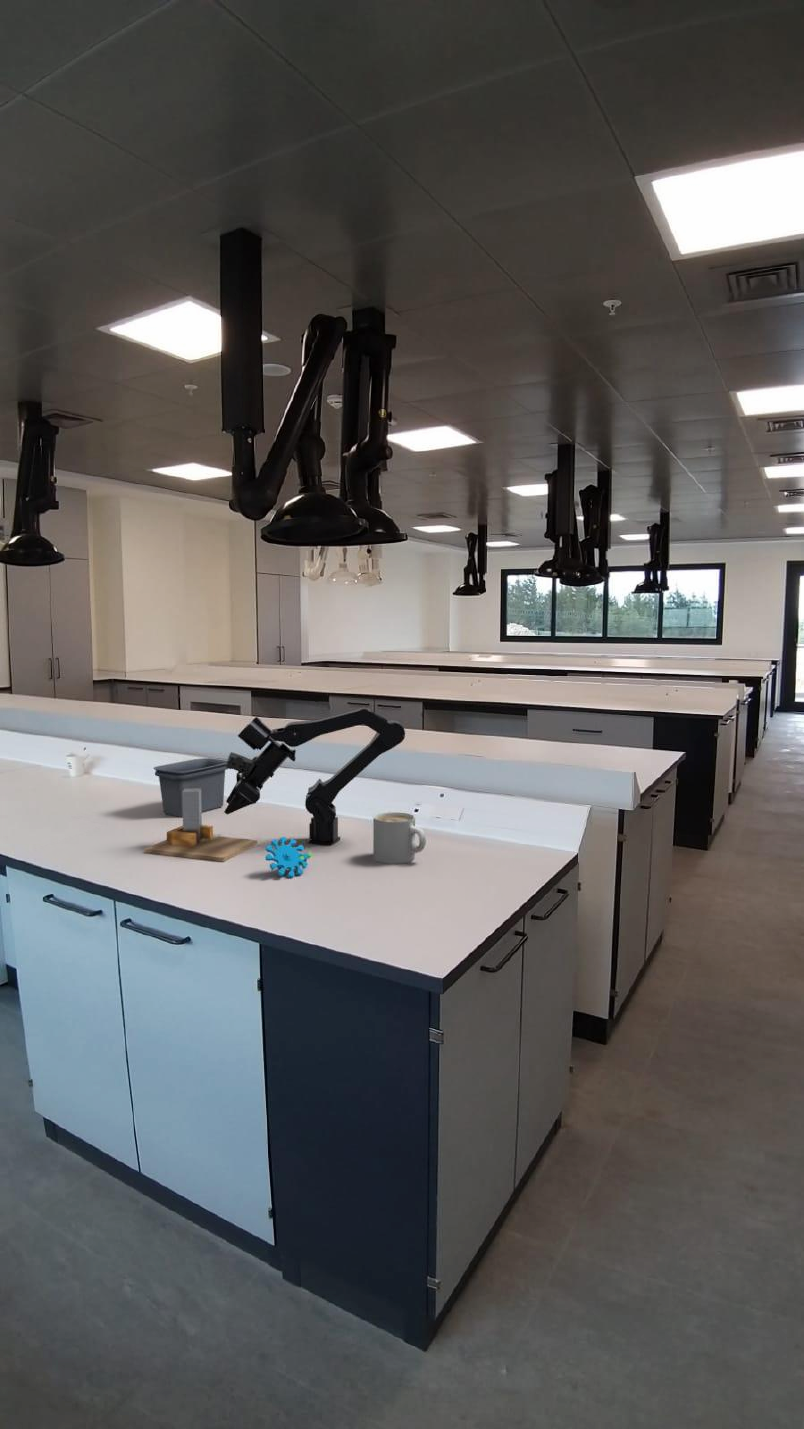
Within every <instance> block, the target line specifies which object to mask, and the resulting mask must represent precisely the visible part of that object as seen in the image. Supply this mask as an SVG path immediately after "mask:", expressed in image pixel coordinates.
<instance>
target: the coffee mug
mask: <svg viewBox="0 0 804 1429" xmlns="http://www.w3.org/2000/svg"><path fill="white" fill-rule="evenodd" d="M372 827H373V839H372V840H373V843H372V844H373V848H372V849H373V852H372V855H373V860H374V861H376V862H379V863H383V864H388V865H389V864H391V865H399V864H400V865H401V864H406V863H410V862H412V861H414V860H415V858H416V855H415V854H417V853H421V852H422V851H424V849H425V847H426V843H427V840H426V839H427V838H426V834H425V831H424V830H423V829H422V828H421V827H418V826H416V816H415V815H414V814H411V813H407V812H401V811H389V812H381V813H377V814H375V815H374V816H373V826H372ZM416 834H417V836H418V837H419V838H418V839H419V840H418V841H419V843H418V845H417V844H416Z"/></svg>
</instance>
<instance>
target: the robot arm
mask: <svg viewBox="0 0 804 1429" xmlns="http://www.w3.org/2000/svg"><path fill="white" fill-rule="evenodd" d="M361 725H365V726H366V727H368V728H369V729H371V730H372V731H374V732H375V734H374V736H373V737H372V738H371V740H370V742H369V743H367V745H366V746H364V747H363V748H362V749H361V750H360V751H359V752H357V754H356V755H355V756H353V757H352V758H351V759H350V760H349V761H348V762H347V763H346V764H345V765H343V766H342V767H341V768H340V769H339V770H338V771H337V772H336V773H335V774H334V775H332V776H331V777H330V778H329V779H327V780H325V781H322V779H321V778H318V780H317V781H316V782H315V783H314V784H313V785H311V786H310V787H308V789H307V793H306V795H305V802H304V806H305V809H306V810H307V812H308V813H309V814H311V815H312V817H310V823H309V826H308V829H309V832H308V833H309V836H308V837H309V838H308V839H309V840H307V842H308V843H309V844H316V845H325V846H332V845H334V844H335V843H336V842H339V841H340V840H341V836H339V817H337V807H336V805H334V804H333V802H334V800H335V799H336V797H337V796H338V794H339V793H340V792H341V791H342V789H344V788H345V787H347V785H348V784H350V783H351V781H353V780H354V779H355V778H356V777H357V776H358V775H359V774H360V773H362V772H363V771H364V770H365V769H366V768H367V767H368V766H369V765H371V763H373V762H374V761H375V760H376V759H377V758H378V757H379V756H380V755H382V754H384V753H386V752H388V751H390V750H393V748H395V747H396V746H398V745H400V744H401V743H403V741H404V740H405V737H406V731H405V728H404V727H403V725H402V724H401V723H400V722H399V721H397V720H394V719H389V720H387V719H386V718H384V717H383V716H381V715H378V714H377V713H375V712H374V711H371V709H370V708H368V707H364V706H363V707H360V708H358V709H354V710H352V711H348V712H344V713H339V714H336V715H331V716H328V717H325V718H320V719H317V720H316V719H315V720H299V721H290V722H288V723H287V724H286V725H285V726H284V727H279V728H275V729H270V728H269V727H268V726H267V725H266V724H265V723H264V722H263V721H262V720H261V719H260V718H259V717H258V716H255V717H254V718H253V719H252V720H251V721H250V722H249V723H248V724H247V725H245V727H244V728H243V729H242V730H241V731H240V732H239V733H238V734H237V737H238V738H239V739H241V741H242V742H244V743H245V744H246V745H247V746H249V747H250V748H251V749H252V750H253V751H255V750H259V751H261V750H262V749H263V748H264V747H265V746H266V745H267V744H268V745H267V746H266V747H265V748H264V750H262V751H261V753H260V754H259V755H256V756H254V757H253V758H252V759H251V758H248V757H246V756H244V755H241V754H239V753H235V752H230V753H229V754H228V758H227V759H226V760H227V762H226V767H227V768H229V769H228V770H235V771H237V772H236V783H235V785H234V786H233V788H232V790H231V792H230V794H229V795H228V797H227V799H226V801H225V802H226V803H227V804H228V805H227V807H226V808H225V809H224V812H223V813H224V814H225V815H230V814H233V813H235V812H236V811H239V810H241V809H244V808H246V807H248V806H251V805H252V806H253V805H255V804H256V803H258V801H259V800H260V799H261V790H262V789H263V787H264V784H265V783H266V782H267V781H269V779H270V778H273V776H274V775H275V772H276V771H277V770H278V769H279V768H280V767H281V766H282V765H283V763H285V761H286V760H287V759H289V760H291V761H292V762H295V761H296V759H297V758H296V757H297V756H296V752H297V750H296V749H295V748H296V747H299V746H301V745H303V744H306V743H308V742H310V741H312V740H313V739H316V738H318V737H320V736H323V735H326V734H331V733H335V732H338V731H342V730H346V729H350V728H354V727H356V726H357V727H358V726H361ZM268 742H270V743H268ZM279 742H281V743H279ZM288 746H289V747H291V748H294V749H291V748H289V747H288Z"/></svg>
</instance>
